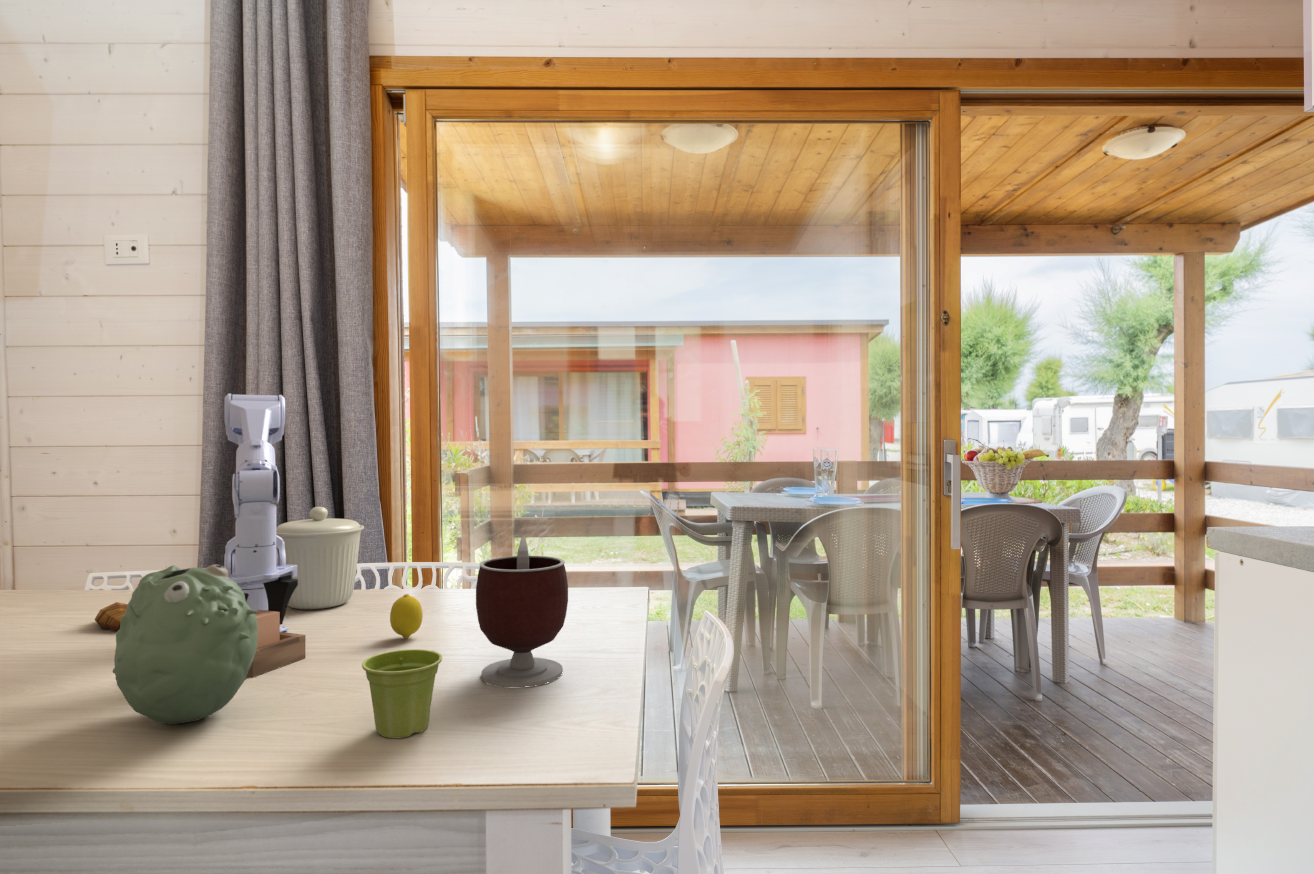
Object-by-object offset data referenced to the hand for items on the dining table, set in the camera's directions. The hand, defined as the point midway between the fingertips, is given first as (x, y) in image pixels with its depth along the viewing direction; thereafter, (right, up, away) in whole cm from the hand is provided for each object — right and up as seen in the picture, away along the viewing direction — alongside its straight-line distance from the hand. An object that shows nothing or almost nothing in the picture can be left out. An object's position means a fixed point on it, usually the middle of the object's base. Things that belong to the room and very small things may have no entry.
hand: (256, 629), depth 116 cm
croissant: (-39, -6, +22) cm, 45 cm away
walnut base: (0, -5, 0) cm, 5 cm away
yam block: (0, -2, 0) cm, 2 cm away
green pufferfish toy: (+4, -6, -23) cm, 24 cm away
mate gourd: (+43, -6, -4) cm, 44 cm away
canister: (-9, -6, +40) cm, 42 cm away
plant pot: (+32, -6, -25) cm, 41 cm away
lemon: (+19, -6, +14) cm, 25 cm away
